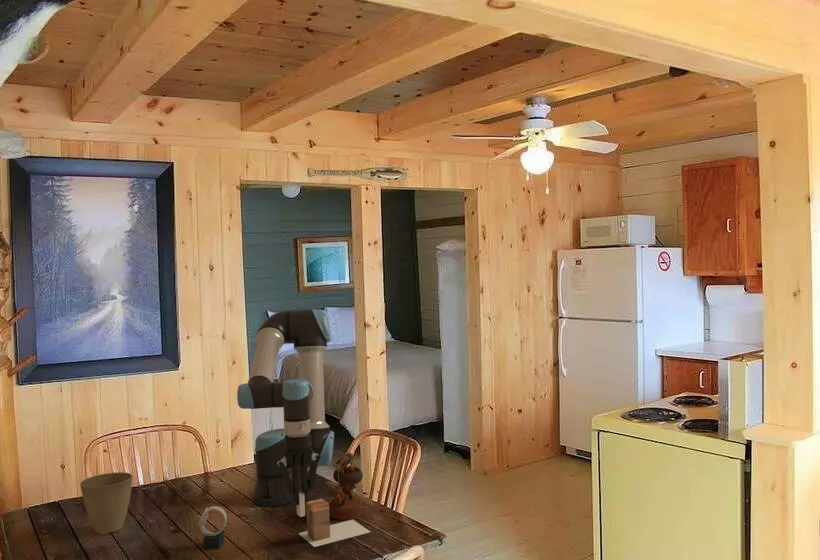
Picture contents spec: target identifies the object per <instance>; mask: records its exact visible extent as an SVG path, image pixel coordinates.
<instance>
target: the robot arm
mask: <svg viewBox="0 0 820 560" xmlns="http://www.w3.org/2000/svg"><path fill="white" fill-rule="evenodd" d="M331 341H332V336H331V329H330V321H329V316H328V313H327V312H326V310H323V309H313V308H312V309H300V310H297V309H296V310H282V311H278V312H275V313H273V314H272V315H270V316H269V317H268V318H267V319H265V320H264V321H263V322H262V323H261V325H260V326H259V328H258V329H257V333H256V336H255V343H256V348H255V351H254V356H253V360H252V364H251V369H250V372H249V376H248V381H247V382H246V383H241V384H239V385H238V388H237V391H236V392H237V393H236V401H237V404H238V407H239V408H240V409H241V410H246V409H248V410H249V409H250V410H257V409H270V408H271V409H272V408H273V409H274V408H283V428H275V429H271V430H267V431H264V432H262V433H259V434H258V435H257V436H256V438H255V440H254V441H255V447H254V451H255V466H256V467H255V471H256V472H255V473H256V481H255V483H254V487H253V490H252V494H251V495H252V496H251V498H252V501H251V503H253V504H254V505H256V506H259V507H276V506H277V507H278V506H283V505H286V504H290V503H292V502H293V504H294V506H296V515H298V517H300V518H302V517H306V503H307V502H309V500H308V493H309V491H310V490H313V489H314V485H315V481H316V476H317V475H316V474H317V469H318V468H319V467H320V468H321V467H328V466H329V465H330V464H331V462H332V458H333V451H334V441H335V440H334V439H335V432H334V431H332V430H331V429H330V428H331V427H330V424H328V423H327V422H326V416H325V415H326V412H325V410H326V407H325V379H324V378H325V377H324V375H325V374H324V351H325V350H326V349H327V348H328V343H331ZM288 344H290V345H291V344H293V349H294V351H296V352H297V355H298V357H297V358H298V378H293V379H287V380H285V381H277V382H275V381H274V379H275V375H276V374H275V373H276V369H277V363H278V360H279V358H278V357H279V353H280V349H281V348H282V347H283V346H284V345H288Z"/></svg>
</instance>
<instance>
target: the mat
mask: <svg viewBox="0 0 820 560" xmlns="http://www.w3.org/2000/svg"><path fill="white" fill-rule="evenodd" d="M369 533H371V531H370V530H368V529H367V528H366V527H365V526H363V525H362V524H360V523H358V522H357V521H356V520H355V519H351V520H344V521H342V522H338V523H333V524H330V538H326V539H322V540H318V541H313V540H312V539H311V538H310V537H308V532H307V530H306V531H302V532H299V533H298V534H299V536H300V537H302V538H303V539H304V540H305V541H306V542H308V543H309V544H311V546H312V547H314V548H316V547H319V546H320V547H321V546H324V545H327V544H330V543H332V544H333V543H334V542H340V541H343V540H347V539H350V538H353V537H357V536H362V535H364V534H369Z"/></svg>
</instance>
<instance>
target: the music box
mask: <svg viewBox="0 0 820 560" xmlns="http://www.w3.org/2000/svg"><path fill="white" fill-rule="evenodd" d="M353 459H354V454H353V453H351V452H348V453H346V455H344V456H342V457H340V458H339V459H337V461H336V462H335V464H332V467H336V469H335V470H334V471H333V474H332V475H333V477H332V478H333V480H334V481H335V483H337V485H335V487H334V488H335V490H334V491H337V494H336V496H335V497H334V499H332V500H331V501H330V502H329V517H331V518H333V519H335V520H339V521H340V520H341V521H349V520H355V519H357V518H360V517H361V516H362V514H363V503H362V501H360V499H358V498H355V497H353V491H354V489H356V488H357V486H356V485H357V484H359V483H360V482H361V481H362V479H363V477H364V476H363V470H361V468H359V467H356V466H353V464H351V463H352V462H353ZM340 490H341V491H340ZM339 491H340V492H339Z"/></svg>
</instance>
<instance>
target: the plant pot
mask: <svg viewBox="0 0 820 560" xmlns="http://www.w3.org/2000/svg"><path fill="white" fill-rule="evenodd" d="M79 484H80V489H81V490H80V491H81V495H82V498H83V503H84V506H85V510H86V513H87V515H88V518H89V520H90V522H91V525H92V526H93V528H94V530H95V533H96V532H98V533H110V532H115V531H117V530H119V529H121V528H123V526H124V523H125V520H126V517H127V513H128V510H129V505H130V500H131V495H132V493H131V492H132V485H133V474H132V473H130V472H124V471H123V472H119V471H118V472H116V471H115V472H109V473H108V472H106V473H100V474H97V475H93V476H90V477H88V478H85V479H83V480H81V482H79ZM121 530H122V529H121ZM119 531H120V530H119ZM115 533H116V532H115Z"/></svg>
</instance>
